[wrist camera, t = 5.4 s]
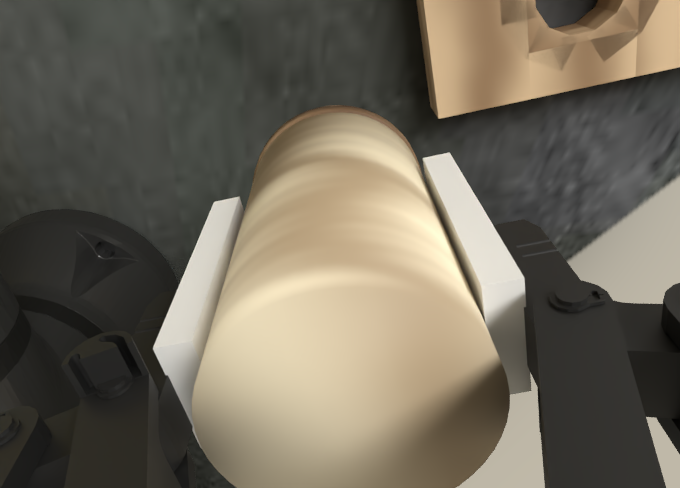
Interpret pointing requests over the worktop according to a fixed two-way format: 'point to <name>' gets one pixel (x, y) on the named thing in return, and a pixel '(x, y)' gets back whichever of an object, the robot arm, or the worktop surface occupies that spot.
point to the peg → (346, 324)
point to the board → (538, 49)
